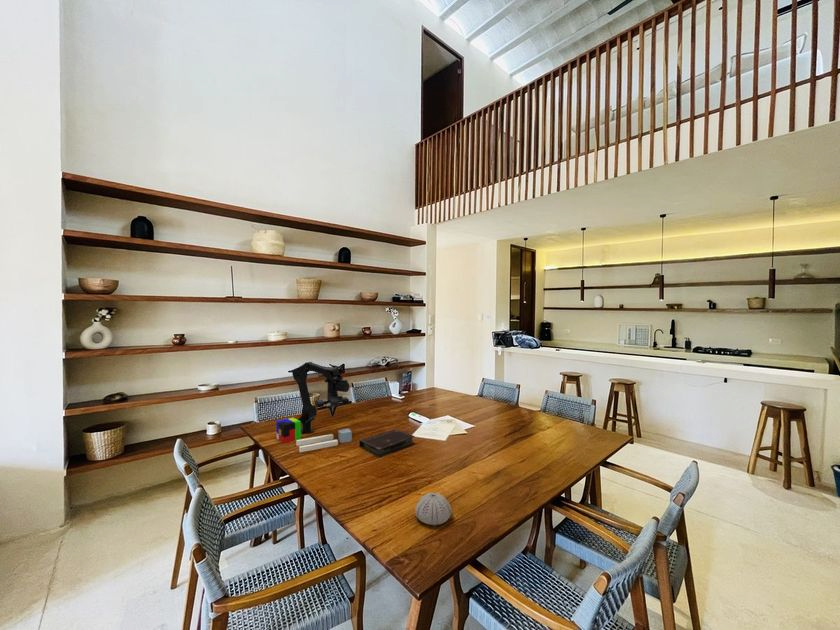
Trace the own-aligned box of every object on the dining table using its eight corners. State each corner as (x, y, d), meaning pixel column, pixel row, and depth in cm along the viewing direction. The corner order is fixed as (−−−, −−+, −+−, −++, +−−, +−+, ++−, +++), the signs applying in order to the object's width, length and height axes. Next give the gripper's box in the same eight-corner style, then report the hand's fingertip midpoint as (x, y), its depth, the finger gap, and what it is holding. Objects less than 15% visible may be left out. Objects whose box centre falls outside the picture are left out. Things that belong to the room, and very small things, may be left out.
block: (338, 439, 197) (338, 430, 197) (348, 437, 200) (348, 428, 200) (341, 443, 192) (341, 433, 192) (351, 441, 195) (351, 431, 195)
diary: (358, 448, 187) (358, 439, 187) (394, 436, 204) (394, 428, 204) (379, 458, 173) (379, 448, 173) (415, 445, 190) (415, 436, 190)
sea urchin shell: (429, 533, 115) (429, 510, 115) (407, 514, 126) (407, 492, 126) (459, 519, 123) (459, 497, 123) (435, 502, 134) (435, 482, 134)
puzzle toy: (276, 438, 198) (276, 421, 198) (293, 434, 205) (293, 417, 205) (283, 443, 191) (283, 425, 191) (300, 438, 198) (300, 421, 198)
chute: (296, 444, 189) (296, 440, 189) (332, 438, 199) (332, 433, 199) (299, 452, 179) (299, 447, 179) (337, 445, 189) (337, 440, 189)
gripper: (318, 395, 189) (318, 423, 190) (351, 391, 198) (351, 418, 198) (314, 390, 199) (314, 417, 200) (346, 387, 208) (346, 412, 208)
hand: (332, 416), depth 201 cm, fingers closed
